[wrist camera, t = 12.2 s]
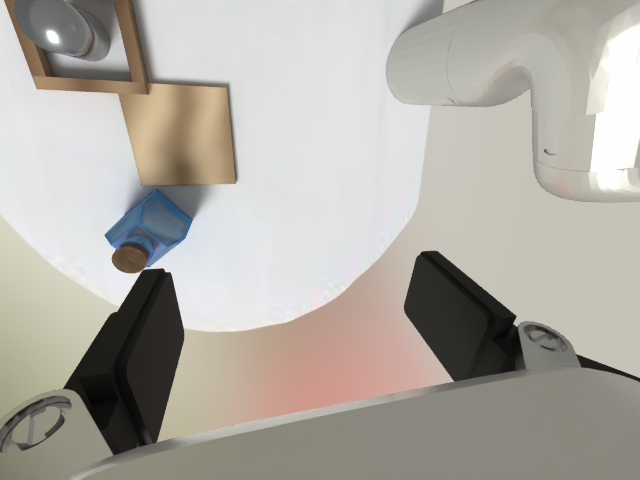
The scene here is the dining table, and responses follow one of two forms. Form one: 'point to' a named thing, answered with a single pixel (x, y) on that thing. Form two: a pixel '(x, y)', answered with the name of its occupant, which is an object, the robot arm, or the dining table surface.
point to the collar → (47, 81)
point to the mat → (180, 134)
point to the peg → (62, 28)
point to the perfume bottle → (147, 233)
